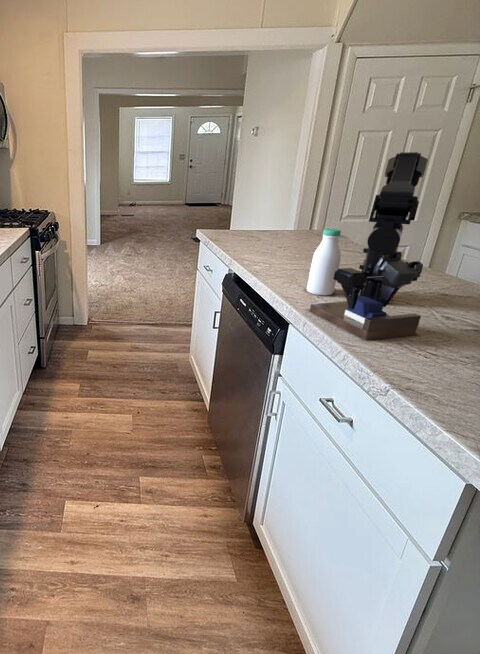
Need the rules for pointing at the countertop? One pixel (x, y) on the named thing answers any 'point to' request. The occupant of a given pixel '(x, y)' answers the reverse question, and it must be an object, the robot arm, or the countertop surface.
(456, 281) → the countertop surface
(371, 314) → the navy white-based block
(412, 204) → the robot arm
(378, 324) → the brown wooden tray
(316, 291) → the milk bottle
